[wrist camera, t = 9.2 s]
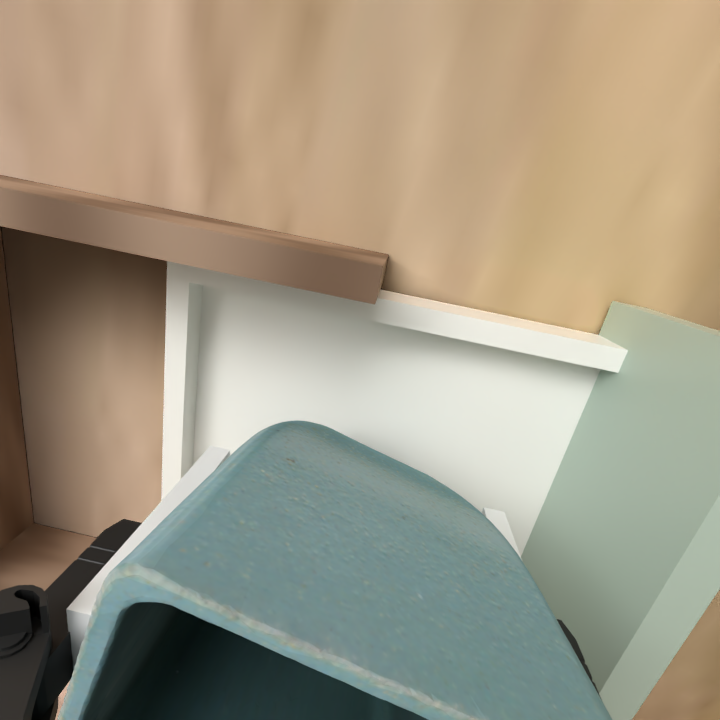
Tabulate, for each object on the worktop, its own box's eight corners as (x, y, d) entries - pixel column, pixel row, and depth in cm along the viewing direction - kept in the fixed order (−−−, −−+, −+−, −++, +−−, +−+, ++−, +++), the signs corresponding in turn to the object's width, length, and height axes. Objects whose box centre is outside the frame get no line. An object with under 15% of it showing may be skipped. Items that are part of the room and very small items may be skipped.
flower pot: (513, 461, 14) (689, 824, 5) (397, 614, 17) (394, 1007, 8) (291, 351, 13) (103, 561, 5) (211, 529, 16) (6, 853, 8)
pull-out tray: (645, 307, 14) (862, 376, 7) (494, 649, 20) (540, 855, 13) (198, 215, 15) (31, 204, 8) (180, 575, 21) (77, 738, 14)
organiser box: (388, 254, 15) (383, 266, 10) (315, 604, 21) (290, 715, 16) (-30, 168, 15) (-226, 140, 10) (17, 533, 21) (-93, 621, 16)
